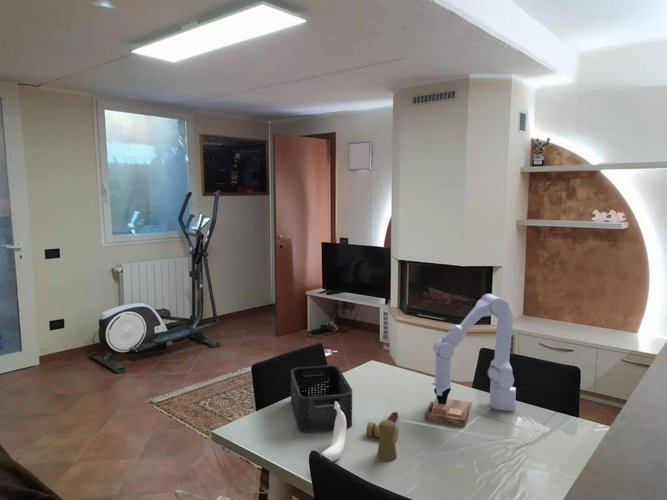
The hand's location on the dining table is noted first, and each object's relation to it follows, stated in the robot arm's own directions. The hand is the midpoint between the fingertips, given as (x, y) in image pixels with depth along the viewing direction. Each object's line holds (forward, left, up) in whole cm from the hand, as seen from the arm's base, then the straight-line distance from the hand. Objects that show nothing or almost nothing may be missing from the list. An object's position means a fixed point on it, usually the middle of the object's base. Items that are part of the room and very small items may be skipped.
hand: (442, 407), depth 176 cm
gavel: (+15, +20, -2) cm, 25 cm away
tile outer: (0, +3, -1) cm, 3 cm away
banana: (+25, +44, -2) cm, 51 cm away
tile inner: (-6, +6, -1) cm, 8 cm away
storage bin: (+42, +20, -2) cm, 46 cm away
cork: (+10, +38, -2) cm, 40 cm away
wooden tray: (-3, 0, -2) cm, 3 cm away
